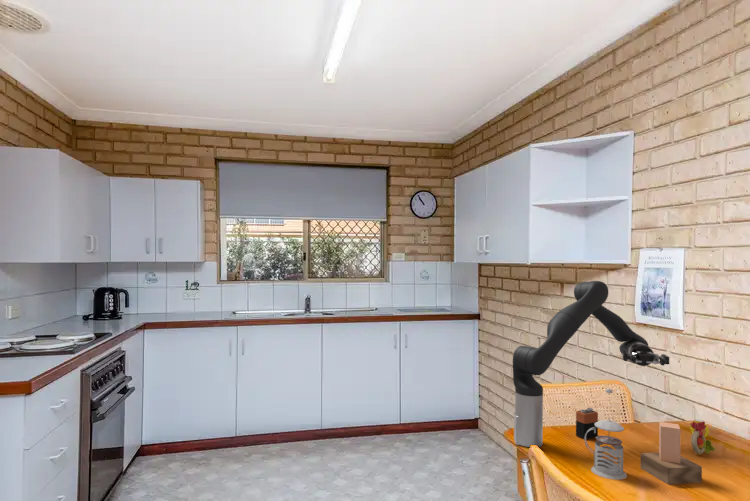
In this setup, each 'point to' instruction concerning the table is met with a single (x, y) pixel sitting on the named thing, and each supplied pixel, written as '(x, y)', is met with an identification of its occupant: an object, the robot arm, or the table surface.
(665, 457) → the terracotta block
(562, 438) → the table surface
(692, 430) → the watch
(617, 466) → the french press
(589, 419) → the battery
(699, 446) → the bird rattle
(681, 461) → the walnut block
